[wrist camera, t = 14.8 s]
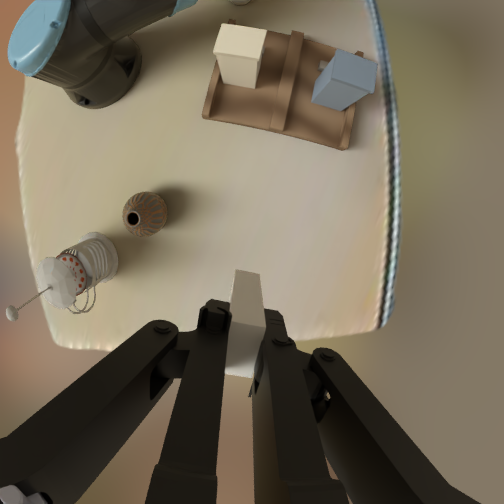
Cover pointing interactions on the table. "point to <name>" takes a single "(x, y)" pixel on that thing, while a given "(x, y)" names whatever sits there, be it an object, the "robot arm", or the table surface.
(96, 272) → the french press
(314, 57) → the wooden divided tray
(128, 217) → the vase
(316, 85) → the blue-grey rectangular block
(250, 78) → the cream tall block
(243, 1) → the salt shaker
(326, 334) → the table surface
